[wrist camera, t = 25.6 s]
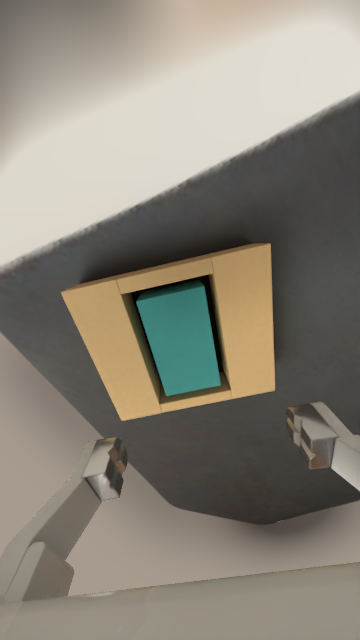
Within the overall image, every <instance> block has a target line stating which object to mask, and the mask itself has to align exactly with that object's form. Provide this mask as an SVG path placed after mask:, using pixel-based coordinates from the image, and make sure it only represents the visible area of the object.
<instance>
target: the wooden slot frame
mask: <svg viewBox="0 0 360 640" xmlns="http://www.w3.org/2000/svg"><path fill="white" fill-rule="evenodd" d="M204 275H208V277H209V283H210V289H211V296H212V302H213V308H214V315H215V321H216V327H217V333H218V340H219V346H220V352H221V359H222V365H223V371H224V372H219V376H220V382H221V385H219V386H214V387H209V388H205V389H200V390H195V391H190V392H185V393H180V394H175V395H170V396H166V394H165V390H164V387H163V384H161V383H160V380H159V377H158V374H157V371H156V368H155V365H154V362H153V359H152V356H151V352H150V349H149V346H148V343H147V340H146V337H145V334H144V331H143V328H142V325H141V322H140V319H139V316H138V313H137V310H136V307H135V304H134V301H133V298H132V295H131V292H134V291H138V290H143V289H147V288H151V287H156V286H160V285H165V284H169V283H173V282H178V281H182V280H186V279H191V278H195V277H200V276H204ZM61 294H62V296H63V298H64V300H65V303H66V305H67V307H68V309H69V311H70V313H71V315H72V317H73V319H74V321H75V324H76V326H77V328H78V330H79V332H80V334H81V336H82V338H83V340H84V342H85V345H86V347H87V349H88V351H89V353H90V355H91V357H92V359H93V361H94V363H95V366H96V368H97V370H98V372H99V374H100V376H101V378H102V380H103V382H104V385H105V387H106V389H107V391H108V393H109V395H110V397H111V399H112V401H113V403H114V406H115V408H116V410H117V412H118V414H119V416H120V418H121V420H122V421H124V420H129V419H134V418H139V417H144V416H149V415H154V414H159V413H162V412H168V411H173V410H178V409H183V408H188V407H193V406H198V405H203V404H208V403H213V402H218V401H223V400H228V399H234V398H239V397H244V396H249V395H254V394H259V393H264V392H269V391H274V390H275V371H274V337H273V304H272V271H271V244H270V243H253V244H249V245H244V246H240V247H236V248H232V249H227V250H223V251H219V252H214V253H210V254H206V255H202V256H197V257H193V258H189V259H185V260H180V261H176V262H172V263H167V264H163V265H159V266H155V267H150V268H146V269H142V270H137V271H133V272H129V273H125V274H120V275H116V276H112V277H107V278H103V279H99V280H94V281H90V282H86V283H82V284H78V285H76V286H73V287H71V288H69V289H67V290H65V291H62V292H61Z"/></svg>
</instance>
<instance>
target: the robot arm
mask: <svg viewBox="0 0 360 640" xmlns="http://www.w3.org/2000/svg"><path fill="white" fill-rule="evenodd" d="M286 414H287V415H288V418H287V420H286V426H287V429H288V432H289V434H290V437H291V438H292V440H293V442H294V443H295V444H297V445H298V446H300V454H301V455H302V457H303V459H304V461H305V462H306V464H307V466H308V467H309V469H317V468H325V467H331V468H332V469H333V470H334V471H335V472H337V473H338V474H339V475H340V476H342V477H343V478H344V479H345V480H347V481H348V482H349V483H350V484H352V485H353V486H354V487H355V488H357V489H358V490H359V491H360V436H359V435H353V434H352V433H351V432H350V431H349V430H348V429H347V428H346V427H345V425H344V424H343V423H342V422H341V421H340V420H339V419H338V418H337V417H336V416H335V415H334V414H333V412H332V411H331V410H330V409H329V408H328V407H327V406H326V405H325V404H324V403H323V402H316V403H311V404H303V405H298V406H293V407H287V409H286ZM121 442H122V441H121V439H120V437H114V438H108V439H101V440H94V441H89V442H88V443H87V444H86V445H85V447H84V449H83V452H82V454H81V456H80V459H79V461H78V463H77V465H76V468H75V470H74V472H73V474H72V476H71V479H70V480H69V481H66V482H65V483H64V484H63V485H62V486H61V488H60V489H59V490H58V491H57V492H56V493H55V494H54V495H53V496H52V497H51V498H50V499H49V501H48V502H47V503H46V504H45V505H44V506H43V507H42V508H41V509H40V510H39V511H38V512H37V514H36V515H35V516H34V517H33V518H32V519H31V520H30V521H29V522H28V523H27V525H26V526H25V527H24V528H23V529H22V530H21V531H20V532H19V533H18V534H17V535H16V537H14V539H13V540H12V541H11V542H10V543H9V544H8V545H7V547H6V549H5V551H4V553H3V554H2V556H1V558H0V640H360V562H357V563H348V564H340V565H331V566H322V567H314V568H306V569H298V570H288V571H280V572H271V573H262V574H254V575H246V576H237V577H228V578H220V579H212V580H203V581H194V582H185V583H177V584H168V585H160V586H151V587H144V588H134V589H126V590H117V591H109V592H101V593H92V594H83V595H74V596H67V595H68V592H69V588H70V585H71V582H72V578H73V575H74V570H73V567H72V566H70V565H69V564H68V563H67V562H66V561H65V560H66V558H67V557H68V555H69V553H70V552H71V550H72V548H73V547H74V545H75V544H76V542H77V541H78V539H79V537H80V536H81V534H82V532H83V531H84V529H85V528H86V526H87V525H88V523H89V522H90V520H91V518H92V517H93V515H94V514H95V512H96V510H97V509H98V507H99V506H100V504H101V501H105V500H110V499H116V498H119V497H120V493H121V489H122V484H123V478H122V474H123V472H124V471H125V469H126V466H127V451H126V448H125V447H124V446H122V445H121Z"/></svg>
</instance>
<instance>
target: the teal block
mask: <svg viewBox="0 0 360 640" xmlns="http://www.w3.org/2000/svg"><path fill="white" fill-rule="evenodd" d="M136 303H137V306H138V309H139V312H140V315H141V319H142V322H143V325H144V328H145V331H146V334H147V337H148V340H149V344H150V347H151V350H152V353H153V356H154V359H155V362H156V365H157V369H158V372H159V375H160V378H161V381H162V384H163V387H164V390H165V394H166V396H170V395H175V394H180V393H185V392H190V391H195V390H200V389H205V388H209V387H214V386H219V385H221V382H220V376H219V370H218V364H217V358H216V352H215V346H214V340H213V334H212V328H211V322H210V316H209V310H208V304H207V298H206V292H205V287H204V285H203V284H202V283H201V281H200V280H199V279H198V280H193V281H189V282H185V283H180V284H176V285H171V286H167V287H162V288H158V289H153V290H149V291H145V292H141V294H140V296H139V297H138V299H137V301H136Z"/></svg>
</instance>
